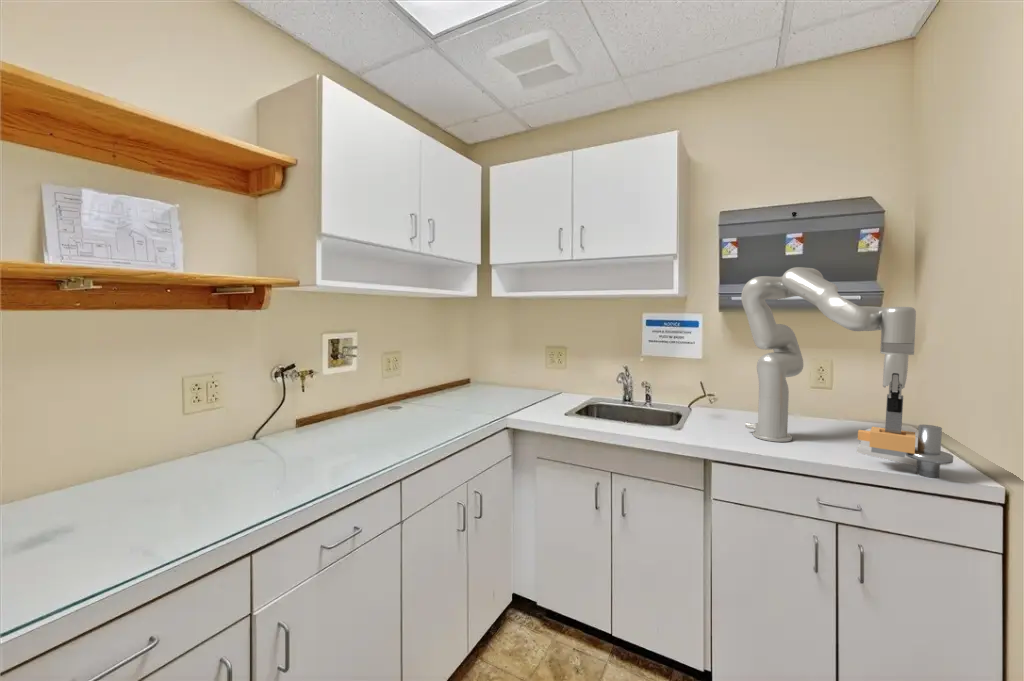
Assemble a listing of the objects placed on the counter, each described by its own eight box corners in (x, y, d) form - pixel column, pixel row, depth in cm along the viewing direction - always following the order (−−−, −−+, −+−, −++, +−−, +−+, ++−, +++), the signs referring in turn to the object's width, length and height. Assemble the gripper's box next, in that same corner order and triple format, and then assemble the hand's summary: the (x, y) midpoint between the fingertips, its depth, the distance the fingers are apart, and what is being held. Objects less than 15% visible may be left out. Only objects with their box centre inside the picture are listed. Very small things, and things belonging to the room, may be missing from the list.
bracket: (914, 447, 132) (915, 432, 132) (914, 453, 126) (915, 438, 126) (859, 439, 141) (859, 424, 140) (856, 444, 135) (857, 430, 134)
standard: (950, 474, 128) (953, 426, 127) (953, 484, 120) (956, 433, 119) (872, 460, 140) (874, 416, 139) (870, 469, 132) (872, 422, 131)
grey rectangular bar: (885, 431, 132) (887, 395, 132) (885, 430, 134) (887, 393, 133) (901, 433, 130) (903, 396, 129) (901, 432, 132) (903, 395, 131)
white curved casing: (855, 451, 148) (861, 422, 149) (861, 454, 151) (867, 425, 152) (919, 467, 134) (926, 434, 135) (925, 469, 136) (931, 437, 137)
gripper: (881, 346, 139) (879, 405, 140) (879, 350, 127) (876, 414, 128) (914, 347, 134) (911, 408, 135) (914, 351, 122) (911, 418, 123)
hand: (894, 410), depth 132 cm, fingers closed on grey rectangular bar, 2 cm apart
